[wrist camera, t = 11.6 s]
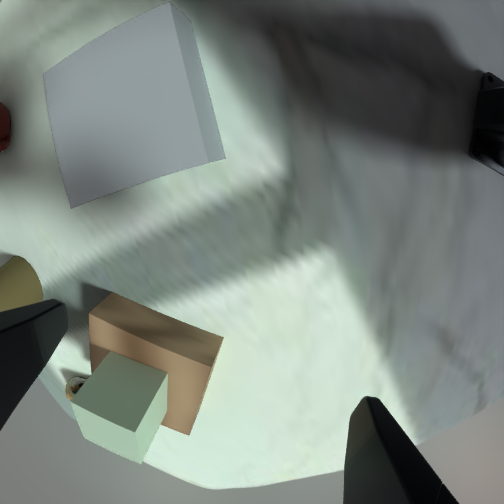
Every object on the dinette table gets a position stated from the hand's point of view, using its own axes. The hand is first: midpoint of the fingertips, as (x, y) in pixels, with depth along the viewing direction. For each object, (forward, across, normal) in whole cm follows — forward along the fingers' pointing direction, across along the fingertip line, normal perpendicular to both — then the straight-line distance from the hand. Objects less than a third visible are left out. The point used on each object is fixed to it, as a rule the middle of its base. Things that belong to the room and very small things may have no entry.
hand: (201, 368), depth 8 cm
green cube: (+10, +6, +14) cm, 18 cm away
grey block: (+13, +10, -6) cm, 18 cm away
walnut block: (+14, +6, +14) cm, 20 cm away
